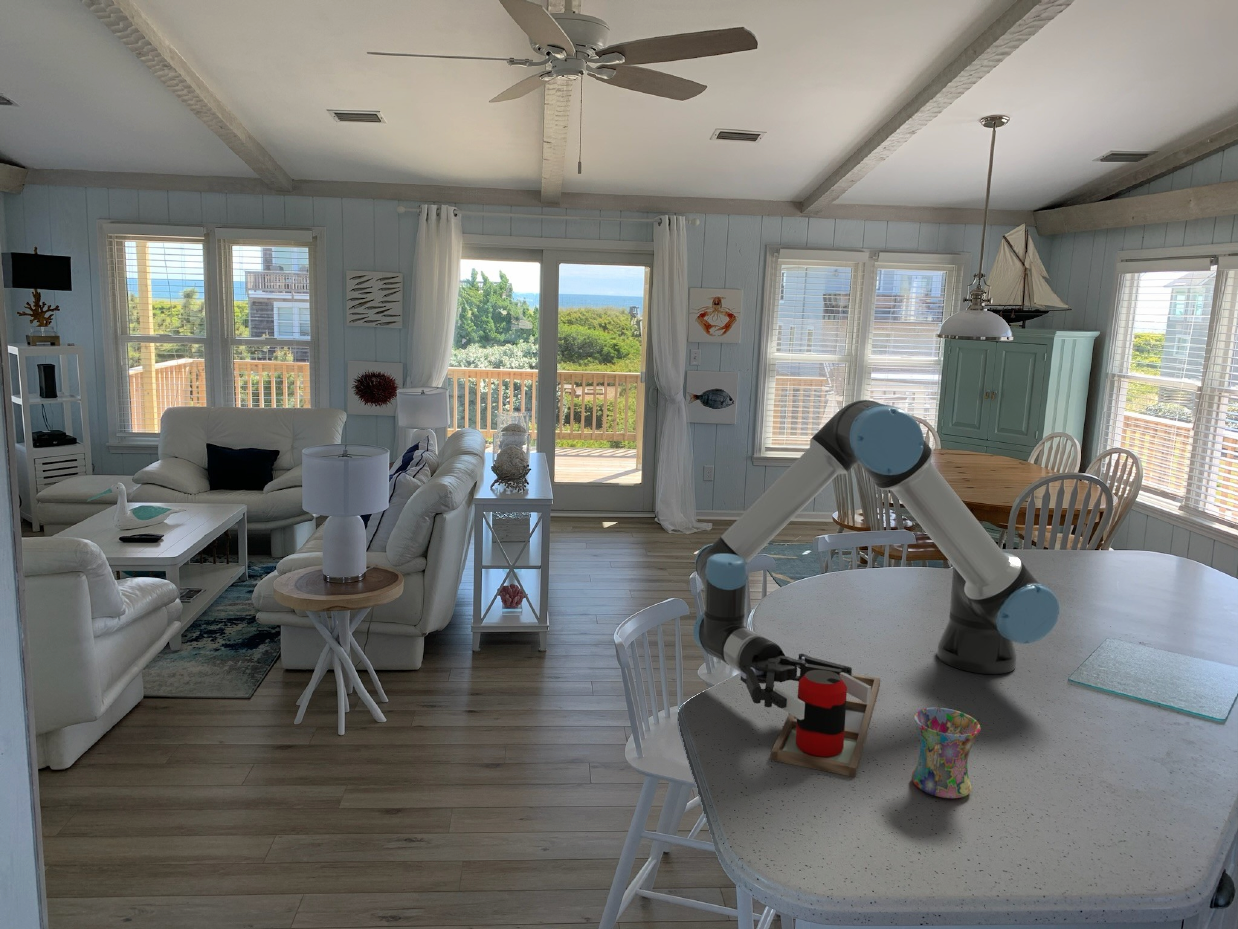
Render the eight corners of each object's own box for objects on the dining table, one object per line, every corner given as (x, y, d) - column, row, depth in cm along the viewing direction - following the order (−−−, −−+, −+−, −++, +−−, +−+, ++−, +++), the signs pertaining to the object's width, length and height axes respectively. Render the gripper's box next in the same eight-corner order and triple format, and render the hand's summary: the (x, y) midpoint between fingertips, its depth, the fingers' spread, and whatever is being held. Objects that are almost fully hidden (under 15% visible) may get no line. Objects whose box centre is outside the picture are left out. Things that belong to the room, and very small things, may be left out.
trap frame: (879, 686, 168) (880, 678, 168) (855, 777, 134) (855, 768, 134) (811, 674, 173) (811, 667, 172) (770, 759, 139) (771, 751, 138)
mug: (916, 765, 138) (921, 702, 136) (979, 782, 133) (985, 717, 131) (897, 800, 128) (902, 732, 126) (964, 820, 123) (971, 749, 121)
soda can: (825, 763, 137) (828, 690, 135) (786, 745, 143) (789, 675, 141) (852, 748, 142) (856, 678, 140) (814, 731, 148) (817, 663, 146)
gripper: (808, 664, 163) (893, 710, 144) (695, 688, 151) (771, 741, 133) (810, 626, 162) (896, 667, 143) (696, 647, 150) (774, 694, 131)
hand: (836, 703), depth 138 cm, fingers open, 13 cm apart
